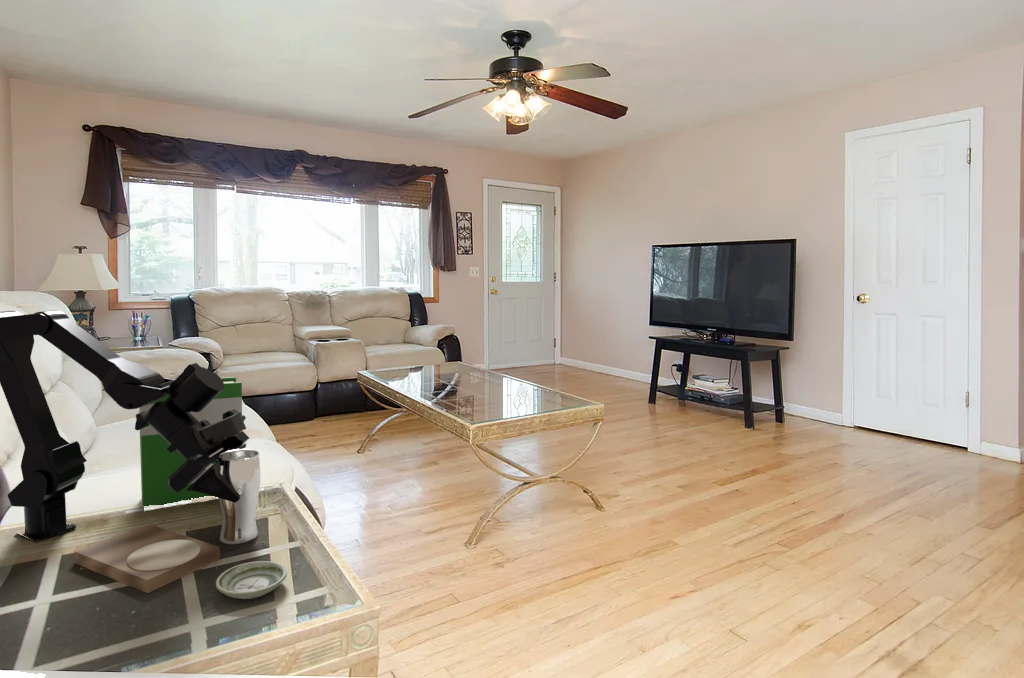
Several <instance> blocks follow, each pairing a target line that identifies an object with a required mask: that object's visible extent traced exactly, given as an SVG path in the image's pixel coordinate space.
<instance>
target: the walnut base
mask: <svg viewBox="0 0 1024 678" xmlns="http://www.w3.org/2000/svg"><path fill="white" fill-rule="evenodd" d="M218 560H219V561H220V560H221V547H220V546H217V545H214V544H212V543H208V542H206V541H203V540H199V539H197V538H193V537H190V536H187V535H184V534H181V533H178V532H176V531H172V530H169V529H167V528H163V527H160V526H157V525H154V524H153V523H147V524H144V525H141V526H139V527H135V528H134V529H130V530H128V531H125V532H122V533H120V534H117V535H115V536H112V537H110V538H106V539H104V540H101V541H98V542H96V543H93V544H90V545H88V546H84V547H82V548H80V549H76V550H74V564H76V565H79V566H81V567H83V568H85V569H88V570H91V571H93V572H94V573H98V574H100V575H102V576H105V577H107V578H110V579H112V580H114V581H117V582H119V583H122V584H124V585H126V586H129V587H131V588H134V589H136V590H139V591H140V592H141V591H142V592H144V593H146V594H149V593H151V592H154V591H156V590H158V589H159V588H160V589H161V588H162V587H164V586H165V585H169V584H170V583H172V582H174V581H176V580H178V579H181V578H183V577H185V576H187V575H188V574H191V573H193V572H195V571H198V570H200V569H202V568H204V567H206V566H208V565H210V564H212V563H214V562H217V561H218Z"/></svg>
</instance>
